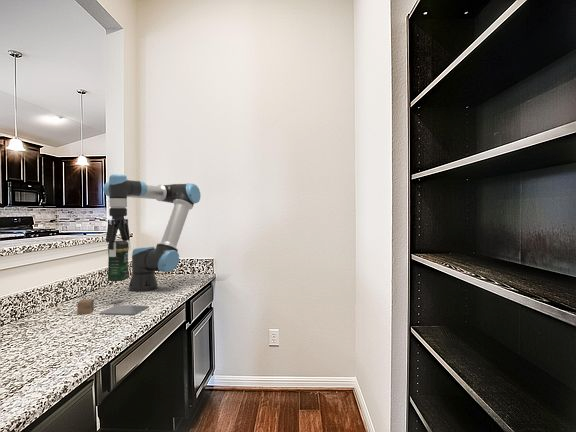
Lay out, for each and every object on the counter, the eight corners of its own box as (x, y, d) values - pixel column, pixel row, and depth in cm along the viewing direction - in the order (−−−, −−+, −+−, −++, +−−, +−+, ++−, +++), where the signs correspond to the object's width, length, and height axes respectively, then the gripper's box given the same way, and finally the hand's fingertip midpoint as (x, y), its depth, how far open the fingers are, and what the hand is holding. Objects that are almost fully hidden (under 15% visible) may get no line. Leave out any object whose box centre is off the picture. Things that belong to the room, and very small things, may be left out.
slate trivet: (116, 306, 163) (116, 305, 163) (148, 307, 162) (148, 306, 162) (99, 314, 150) (99, 313, 150) (134, 315, 149) (134, 313, 149)
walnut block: (80, 311, 155) (80, 299, 155) (93, 310, 157) (93, 299, 157) (77, 314, 150) (77, 302, 150) (90, 313, 152) (90, 301, 152)
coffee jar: (122, 282, 167) (121, 241, 166) (105, 282, 167) (104, 241, 166) (131, 278, 176) (131, 239, 176) (115, 278, 176) (114, 239, 176)
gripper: (122, 208, 183) (123, 252, 183) (96, 207, 160) (96, 258, 161) (137, 207, 182) (137, 252, 182) (112, 207, 160) (113, 258, 160)
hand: (118, 255), depth 171 cm, fingers closed on coffee jar, 9 cm apart
